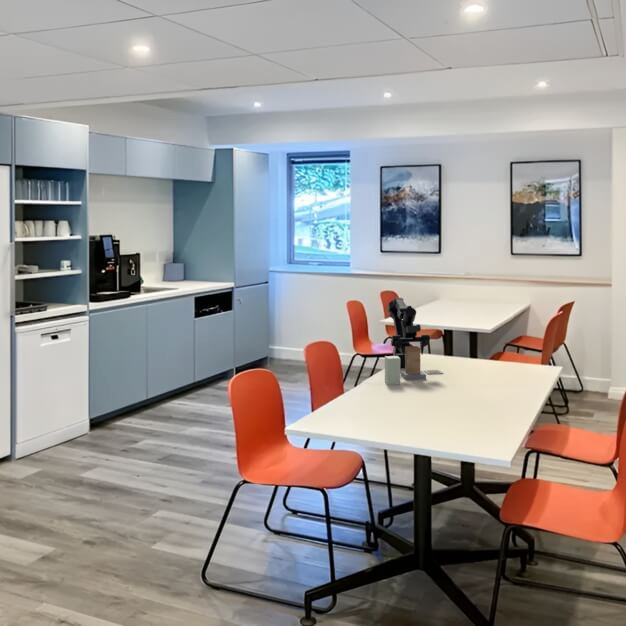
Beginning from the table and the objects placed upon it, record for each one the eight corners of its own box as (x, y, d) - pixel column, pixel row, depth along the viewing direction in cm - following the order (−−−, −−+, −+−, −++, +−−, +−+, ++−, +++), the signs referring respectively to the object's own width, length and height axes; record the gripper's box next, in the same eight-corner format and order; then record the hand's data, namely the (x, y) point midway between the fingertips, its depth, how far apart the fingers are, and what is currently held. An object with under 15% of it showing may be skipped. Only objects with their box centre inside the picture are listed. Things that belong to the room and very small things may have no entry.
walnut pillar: (405, 371, 366) (405, 346, 365) (417, 371, 367) (417, 346, 366) (408, 374, 360) (408, 348, 359) (420, 373, 361) (420, 348, 360)
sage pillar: (384, 382, 354) (384, 356, 353) (397, 381, 355) (397, 355, 354) (387, 385, 348) (387, 358, 347) (400, 384, 349) (400, 358, 348)
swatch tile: (423, 371, 379) (423, 369, 379) (438, 370, 380) (438, 369, 380) (427, 374, 371) (427, 373, 371) (443, 373, 372) (443, 372, 372)
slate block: (401, 377, 369) (401, 371, 368) (420, 376, 370) (421, 370, 369) (405, 381, 359) (405, 375, 358) (425, 380, 360) (426, 374, 359)
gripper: (392, 319, 366) (396, 345, 357) (429, 318, 368) (434, 344, 358) (388, 332, 375) (393, 358, 365) (425, 331, 377) (430, 357, 367)
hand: (413, 354), depth 364 cm, fingers open, 9 cm apart
